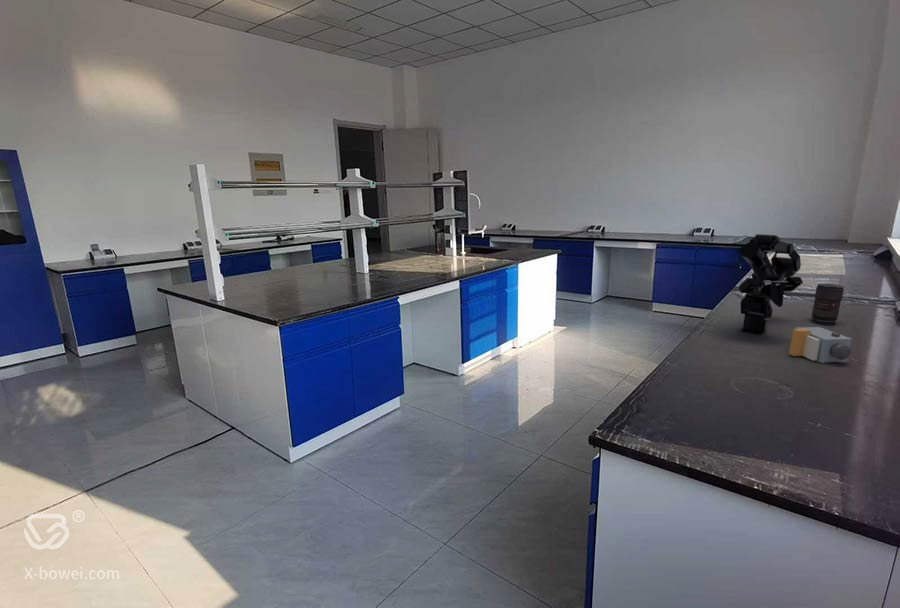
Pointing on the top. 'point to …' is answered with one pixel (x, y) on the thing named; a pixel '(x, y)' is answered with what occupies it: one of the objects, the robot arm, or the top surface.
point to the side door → (804, 344)
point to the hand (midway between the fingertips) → (780, 306)
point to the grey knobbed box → (831, 345)
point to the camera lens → (827, 303)
